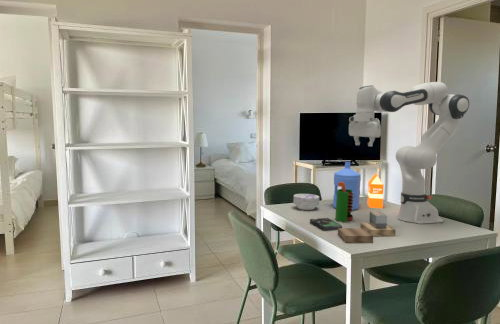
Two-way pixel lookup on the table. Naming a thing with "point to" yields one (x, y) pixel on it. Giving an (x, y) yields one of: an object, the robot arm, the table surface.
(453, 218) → the table surface
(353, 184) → the water jug
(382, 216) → the block
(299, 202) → the paper bowls
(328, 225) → the disk drive
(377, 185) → the orange juice
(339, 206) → the motor
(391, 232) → the stand
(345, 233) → the stand
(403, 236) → the table surface
